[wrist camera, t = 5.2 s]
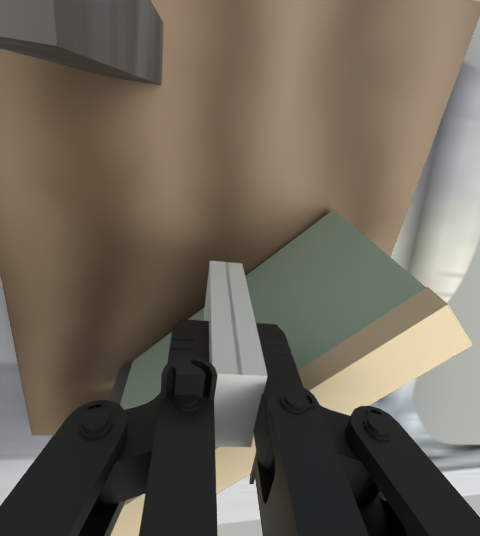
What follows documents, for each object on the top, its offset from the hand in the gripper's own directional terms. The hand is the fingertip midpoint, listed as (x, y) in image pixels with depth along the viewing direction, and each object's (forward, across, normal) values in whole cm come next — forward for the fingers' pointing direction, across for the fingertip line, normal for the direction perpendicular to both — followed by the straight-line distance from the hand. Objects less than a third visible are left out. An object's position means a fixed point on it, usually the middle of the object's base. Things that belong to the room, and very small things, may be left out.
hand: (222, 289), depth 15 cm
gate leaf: (+5, +1, -4) cm, 6 cm away
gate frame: (+6, -1, -2) cm, 7 cm away
